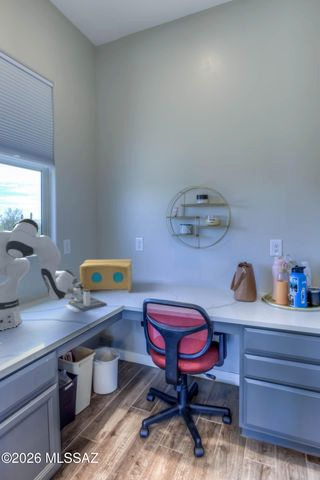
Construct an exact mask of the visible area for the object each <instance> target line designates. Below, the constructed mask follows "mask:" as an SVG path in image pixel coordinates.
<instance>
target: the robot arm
mask: <svg viewBox="0 0 320 480" xmlns="http://www.w3.org/2000/svg"><path fill="white" fill-rule="evenodd" d="M38 231H39V224H38V223H37V222H36V221H35V220H33V219H31V218H22V219H20V220H19V221H17V223H16V224H14V225H13V226H12V230H10V231H9V230H1V231H0V278H6V277H7V279H6V280H5V281H3V282H2V283H0V330H2V331H4V330H3V329H6V330H8V329H7V328H10V329H13V328H12V327H14V328H17V327H18V326H19V325H20V324H22V322H23V319H22V317H21V313H20V301H19V299H20V298H18V297H19V295H18V294H19V293H18V291H19V283H20V281H21V279H23V277H24V276H25V275H26V274H28V272H30V269H31V264H30V260H29V259H28V258H27V257H31V256H33V254H35V256H36V257H37V258H38V260H39V263H40V274H41V277H42V279H43V282H44V284H45V286H46V288H47V293H48V296H49V297H50V298H51V299H53V300H55V301H59V300H62V299H65V298H64V297H65V295H69V296H71V297H73V299H74V298H75V299H78V300H80V301H81V300H82V298H83V297H84V296H83V293H81V294H80V293H79V292H78V291H76V290H75V289H73V284H72V282H73V280H74V277H75V274H74V273H73V272H72V271H71V270H69V269H62V270H58V268H59V266H60V263H61V261H62V254H61V251H60V249H59V248H58V246H57V245H56V243H55V242H54V240H53V239H52V238H51V237H49V236H48V235H39V236H37V234H38ZM18 324H19V325H18ZM16 326H17V327H16Z"/></svg>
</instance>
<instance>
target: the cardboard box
mask: <svg viewBox="0 0 320 480" xmlns="http://www.w3.org/2000/svg"><path fill="white" fill-rule="evenodd" d="M132 275H133V273H132V259H131V258H130V259H129V258H126V259H125V258H124V259H117V258H116V259H86V260H84V262H83V263H82V264H81V265H79V282H82V287H83V290H84V289H89V290H90V291H94V290H127V292H128V293H130V292H131V290H132V286H133V285H132V284H133V281H132V280H133V278H132ZM81 294H83V292H81Z"/></svg>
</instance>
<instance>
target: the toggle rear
mask: <svg viewBox="0 0 320 480" xmlns="http://www.w3.org/2000/svg"><path fill="white" fill-rule="evenodd" d="M80 288H81V286H79V285H77V286H74V289H75V290H76V291H78V292H79V293H80V294H82V293H81V289H80ZM73 300H76V301H77V302H79V301H80V300H78V299H75V298H73Z"/></svg>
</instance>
